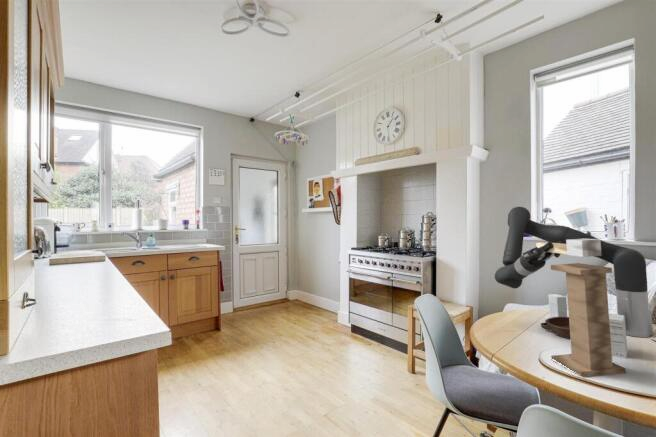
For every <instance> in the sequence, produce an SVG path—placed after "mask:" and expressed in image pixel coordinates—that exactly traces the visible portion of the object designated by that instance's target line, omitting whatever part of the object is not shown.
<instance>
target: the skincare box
mask: <svg viewBox="0 0 656 437" xmlns="http://www.w3.org/2000/svg"><path fill="white" fill-rule="evenodd" d="M548 308H549V309H548V310H549V311H548V312H549V318H552V317H568V303H567V296H565V295H560V294H558V293H556V294H555V293H554V294H553V293H552V294H548Z"/></svg>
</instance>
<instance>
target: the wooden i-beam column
mask: <svg viewBox="0 0 656 437" xmlns="http://www.w3.org/2000/svg"><path fill="white" fill-rule="evenodd" d="M550 270H552V271H556V272H557V271H558V272H561V273H565V280H566V281H565V282H566V294H567V296H566V298H567V312H568V317H569V325H570V338H569V339H570V349H571V351H570V352H571V353H567V354H556V355H554V354H553V355H551V357H550V358H552V359H554V360H556V361H557V362H559V363H561V364H562V365H564V366H566V367H567V368H569V369H570V370H572V371H574V372H576V373H577V374H579V375H580V376H579V375H578V376H579V377H581V376H587V377H595V376H596V377H597V376H605V375H606V376H607V375H609V376H610V375H617V374H626V367H623V366H621V365H619V364H617V363H615V362H613V355H612V352H611V338H610V324H609V314H610V313H609V299H608V285H607V284H608V283H607V274H610V273H611V274H613V268H612V267H609V266H601V265H596V264H595V265H594V264H588V263H586V264H585V263H581V262H580V263H579V262H577V263H564V264H561V263H560V264H551V265H550ZM552 359H551V360H552ZM567 368H566V369H567ZM570 370H569V371H570ZM572 371H571V372H572ZM574 372H573V373H574ZM576 373H575V374H576ZM577 374H576V375H577Z"/></svg>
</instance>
